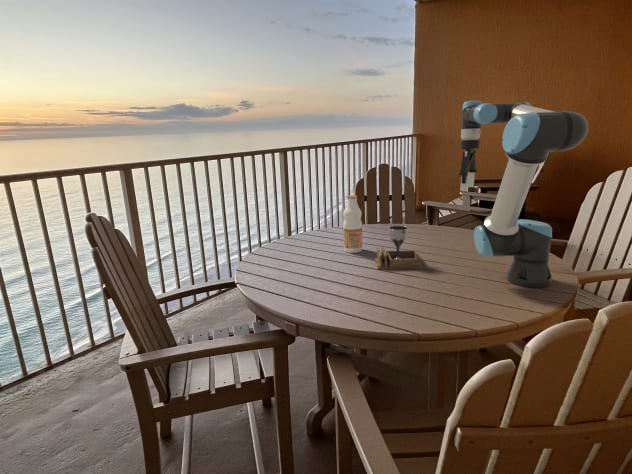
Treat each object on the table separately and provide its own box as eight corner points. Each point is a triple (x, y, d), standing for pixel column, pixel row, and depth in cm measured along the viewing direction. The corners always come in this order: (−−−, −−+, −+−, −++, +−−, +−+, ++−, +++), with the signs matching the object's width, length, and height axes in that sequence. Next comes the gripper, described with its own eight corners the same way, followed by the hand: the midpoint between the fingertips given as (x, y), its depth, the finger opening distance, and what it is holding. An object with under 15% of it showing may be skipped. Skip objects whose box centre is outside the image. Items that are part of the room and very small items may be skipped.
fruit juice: (339, 250, 193) (338, 196, 186) (352, 246, 199) (351, 193, 192) (353, 254, 186) (353, 197, 179) (366, 250, 192) (365, 195, 185)
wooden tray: (422, 268, 163) (422, 255, 161) (378, 269, 164) (378, 256, 162) (415, 258, 176) (416, 246, 175) (374, 259, 178) (374, 247, 176)
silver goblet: (405, 257, 175) (406, 225, 172) (407, 262, 168) (408, 229, 164) (388, 257, 176) (388, 225, 173) (389, 262, 169) (389, 229, 165)
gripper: (473, 139, 150) (470, 193, 155) (485, 138, 170) (481, 185, 175) (454, 140, 154) (451, 192, 159) (467, 138, 174) (464, 185, 179)
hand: (467, 189), depth 167 cm, fingers open, 13 cm apart
